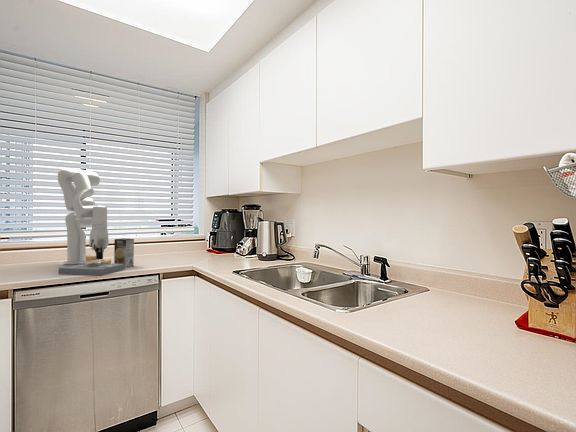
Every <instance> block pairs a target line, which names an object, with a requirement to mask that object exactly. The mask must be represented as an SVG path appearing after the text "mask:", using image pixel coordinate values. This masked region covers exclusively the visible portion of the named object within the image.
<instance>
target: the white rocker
mask: <svg viewBox="0 0 576 432" xmlns="http://www.w3.org/2000/svg"><path fill="white" fill-rule="evenodd" d="M91 263H101V260H100V259H96V260H92V261H87V262H85V264H91Z"/></svg>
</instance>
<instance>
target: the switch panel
mask: <svg viewBox="0 0 576 432" xmlns="http://www.w3.org/2000/svg"><path fill="white" fill-rule="evenodd" d="M123 269H125V270H126V267H125V264H114V263H110V264H101V262H96V263H91V264H85V263H83V264H71V265H69V266H68V265H67V266H63V267H58V274H59V275H74V274H77V275H79V276H81V275H82V276H103V275H107V274H112V273H115V272H119V271H120V270H121V271H124V270H123ZM77 275H76V276H77Z"/></svg>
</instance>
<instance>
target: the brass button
mask: <svg viewBox="0 0 576 432" xmlns="http://www.w3.org/2000/svg"><path fill="white" fill-rule="evenodd" d="M100 263H101V264H112V259H111V258H110V259H107V258H106V259H100Z"/></svg>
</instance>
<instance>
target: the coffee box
mask: <svg viewBox="0 0 576 432" xmlns="http://www.w3.org/2000/svg"><path fill="white" fill-rule="evenodd" d="M134 252H135V238H124V237H123V238H114V253H113V255H114V257H113V258H114V260H113V261H114V263H113V264H125V268H127V266H128V267H132V266H131V265H133V266H134V261H135V259H134V258H135V256H134V255H135V253H134Z"/></svg>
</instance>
